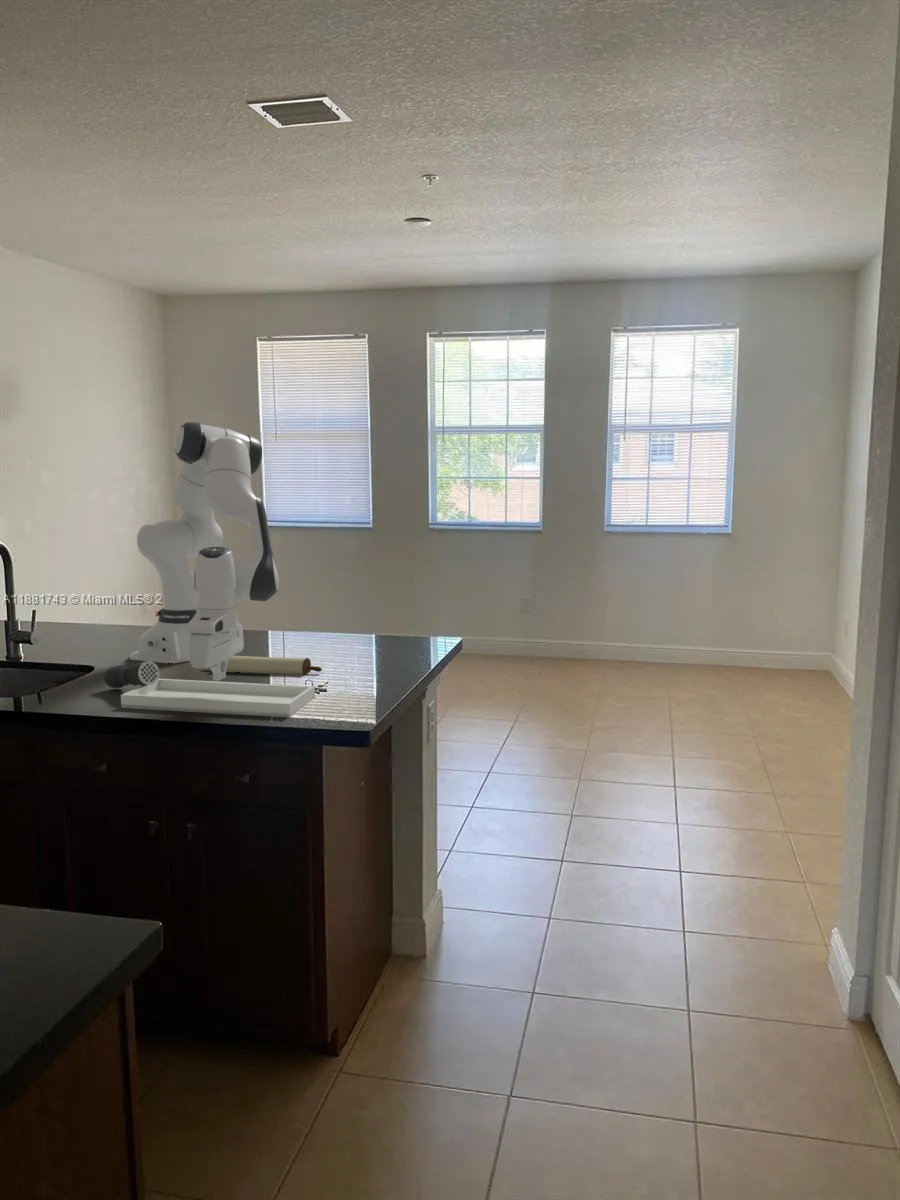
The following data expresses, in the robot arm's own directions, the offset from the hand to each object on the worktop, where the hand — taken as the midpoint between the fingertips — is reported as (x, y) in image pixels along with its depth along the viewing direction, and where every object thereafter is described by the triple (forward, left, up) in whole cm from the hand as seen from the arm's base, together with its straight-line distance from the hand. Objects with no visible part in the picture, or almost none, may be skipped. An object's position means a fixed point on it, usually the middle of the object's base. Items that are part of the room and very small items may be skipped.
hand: (219, 679), depth 199 cm
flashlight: (-28, +8, -6) cm, 30 cm away
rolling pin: (-2, +29, -6) cm, 30 cm away
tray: (0, 0, -6) cm, 6 cm away
